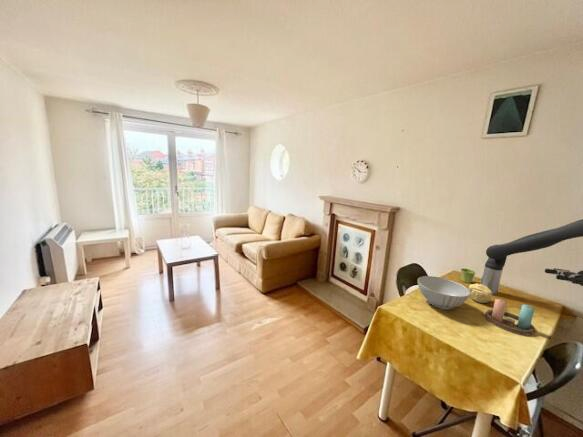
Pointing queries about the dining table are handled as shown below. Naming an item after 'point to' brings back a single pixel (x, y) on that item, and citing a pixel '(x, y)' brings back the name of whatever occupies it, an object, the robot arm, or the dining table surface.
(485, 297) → the sculpture
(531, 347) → the dining table surface
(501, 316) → the pink cylinder
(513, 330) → the brown ring
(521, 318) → the teal cylinder
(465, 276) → the plant pot
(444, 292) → the decorative bowl
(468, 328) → the dining table surface
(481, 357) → the dining table surface
